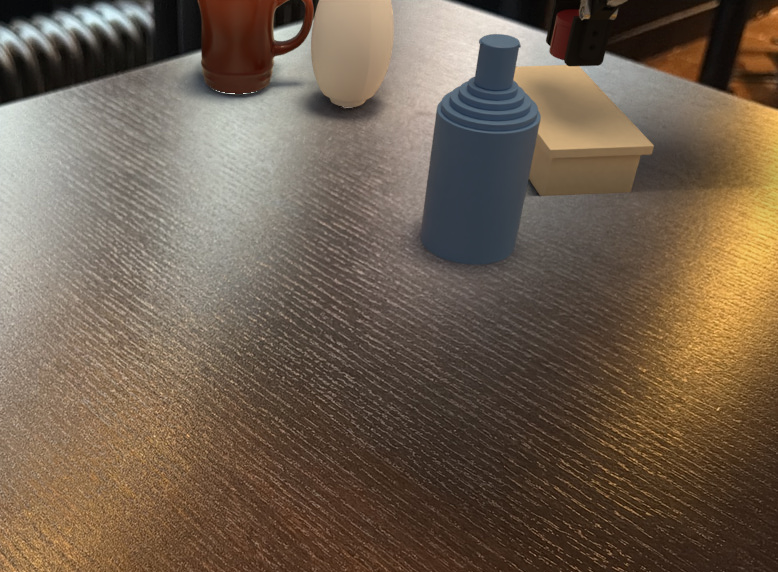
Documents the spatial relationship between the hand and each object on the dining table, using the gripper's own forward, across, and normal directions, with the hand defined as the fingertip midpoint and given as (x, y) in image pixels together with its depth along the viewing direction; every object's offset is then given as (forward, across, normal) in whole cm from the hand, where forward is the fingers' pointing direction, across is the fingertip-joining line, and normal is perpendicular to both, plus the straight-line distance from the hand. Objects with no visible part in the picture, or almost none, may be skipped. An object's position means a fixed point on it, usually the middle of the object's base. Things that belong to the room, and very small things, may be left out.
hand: (573, 52), depth 86 cm
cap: (0, 0, 0) cm, 0 cm away
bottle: (+10, +17, -13) cm, 23 cm away
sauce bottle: (+10, -13, -17) cm, 23 cm away
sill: (+10, 0, 0) cm, 10 cm away
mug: (+10, -19, -26) cm, 33 cm away
